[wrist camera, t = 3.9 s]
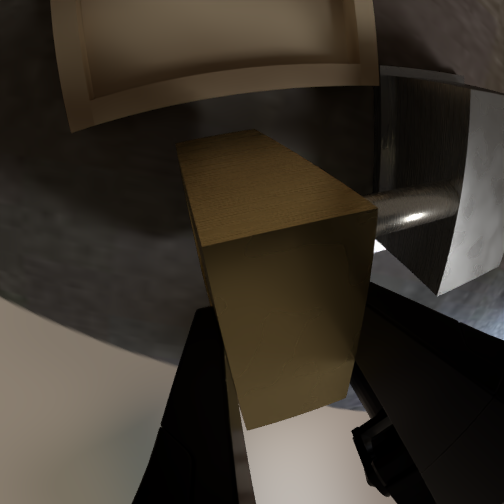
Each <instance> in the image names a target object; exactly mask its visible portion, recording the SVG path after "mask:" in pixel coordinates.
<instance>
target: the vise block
mask: <svg viewBox="0 0 504 504" xmlns="http://www.w3.org/2000/svg"><path fill="white" fill-rule="evenodd" d="M378 67H379V86H374V108H375V148H374V180H373V194H367V195H362V197H364V198H365V199H366V200H368V201H369V202H371V203H372V204H373V205H375V206H376V207H378V217H377V227H376V237H375V245H374V253H375V252H379V251H382V250H386V249H387V250H388V251H389V252H390V253H391V254H392V255H393V256H395V257H396V258H397V259H398V260H399V261H400V262H401V263H402V264H403V265H404V266H406V267H407V268H408V269H409V270H410V271H411V272H412V273H413V274H414V275H415V276H416V277H417V278H418V279H419V280H420V281H422V282H423V283H424V284H425V285H426V286H427V287H428V288H429V289H430V290H431V291H432V292H433V293H434V294H435V295H436V296H439V295H441V294H443V293H446V292H448V291H450V290H452V289H454V288H456V287H458V286H460V285H462V284H464V283H466V282H469V281H471V280H473V279H475V278H477V277H479V276H480V275H482V274H484V273H486V272H488V271H490V270H492V269H494V268H496V267H498V266H499V265H500V262H501V259H502V256H503V253H504V93H500V92H496V91H493V90H489V89H485V88H480V87H476V86H472V85H467V84H464V76H461V75H455V74H450V73H444V72H437V71H430V70H423V69H414V68H405V67H395V66H382V65H378Z"/></svg>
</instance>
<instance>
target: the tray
mask: <svg viewBox="0 0 504 504" xmlns="http://www.w3.org/2000/svg"><path fill="white" fill-rule="evenodd" d="M50 3H51V16H52V27H53V36H54V44H55V52H56V59H57V65H58V72H59V78H60V83H61V89H62V94H63V99H64V104H65V109H66V113H67V118H68V122H69V127H70V131H71V133H73V132H76V131H79V130H82V129H86V128H89V127H92V126H95V125H98V124H102V123H105V122H108V121H112V120H115V119H119V118H123V117H126V116H130V115H134V114H138V113H142V112H146V111H150V110H154V109H158V108H163V107H167V106H172V105H177V104H182V103H187V102H192V101H197V100H203V99H209V98H215V97H221V96H228V95H234V94H242V93H250V92H258V91H267V90H277V89H289V88H303V87H321V86H379V67H378V51H377V38H376V27H375V18H374V9H373V1H372V0H50Z"/></svg>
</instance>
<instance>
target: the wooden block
mask: <svg viewBox="0 0 504 504" xmlns="http://www.w3.org/2000/svg"><path fill="white" fill-rule="evenodd" d="M175 144H176V150H177V155H178V161H179V166H180V171H181V177H182V182H183V187H184V192H185V197H186V202H187V207H188V212H189V216H190V221H191V226H192V231H193V235H194V240H195V244H196V249H197V253H198V258H199V262H200V267H201V271H202V275H203V279H204V283H205V287H206V291H207V295H208V299H209V302H210V306H213V308H214V312H215V315H216V319H217V322H218V326H219V329H220V332H221V336H222V339H223V342H224V346H225V350H226V354H227V358H228V362H229V366H230V370H231V374H232V378H233V381H234V385H235V389H236V393H237V398H238V403H239V407H240V410H241V413H242V416H243V419H244V423H245V426H246V428H247V430H251V429H255V428H258V427H262V426H265V425H269V424H272V423H275V422H279V421H282V420H285V419H288V418H291V417H294V416H297V415H300V414H303V413H306V412H309V411H312V410H315V409H318V408H320V407H323V406H326V405H328V404H331V403H334V402H336V401H339V400H341V399H344V398H346V395H347V391H348V387H349V383H350V379H351V375H352V371H353V366H354V362H355V356H356V352H357V347H358V342H359V337H360V332H361V327H362V322H363V316H364V311H365V306H366V301H367V295H368V288H369V282H370V275H371V268H372V261H373V253H374V245H375V237H376V227H377V217H378V207H376V206H375V205H373V204H372V203H371V202H369V201H368V200H366V199H365V198H364V197H362V196H361V195H359V194H358V193H356V192H355V191H353V190H352V189H350V188H349V187H348V186H346V185H345V184H343V183H342V182H340V181H339V180H337V179H336V178H334V177H333V176H331V175H329V174H328V173H326V172H325V171H323V170H322V169H320V168H319V167H317V166H315V165H314V164H312V163H311V162H309V161H308V160H306V159H304V158H303V157H301V156H299V155H298V154H296V153H295V152H293V151H291V150H290V149H288V148H286V147H285V146H283V145H281V144H280V143H278V142H276V141H274V140H273V139H271V138H269V137H268V136H266V135H264V134H262V133H261V132H259V131H257V130H255V129H252V130H245V131H238V132H232V133H226V134H220V135H215V136H209V137H204V138H198V139H193V140H188V141H183V142H179V143H175Z"/></svg>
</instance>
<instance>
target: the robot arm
mask: <svg viewBox="0 0 504 504" xmlns="http://www.w3.org/2000/svg"><path fill="white" fill-rule="evenodd" d="M350 385H351V386H352V388H353V390H354V391H355V393H356V395H357V396H358V398H359V400H360V401H361V403H362V405H363V406H364V408H365V410H366V411H367V413H368V415H369V417H370V418H371V419H370V420H369V421H367V422H366V423H364V424H363V425H361V426H360V427H356V428H355V429H353V430H352V431H351V432H352V434H353V440H354V443H355V446H356V449H357V451H358V454H359V456H360V459H361V462H362V464H363V467H364V471H365V475H366V480H367V483H368V484H369V485H370V486H373V487H376V488H377V489H378V490H379V492H380V493H381V494H382V495H384V496H386V497H389V496H390V495H391V496H392V498H393V499H394V500H395V501H396V503H397V504H504V340H501V339H499V338H496V337H494V336H491V335H488V334H486V333H484V332H482V331H479V330H477V329H475V328H472V327H470V326H468V325H466V324H464V323H462V322H458V321H457V320H455V319H453V318H450V317H448V316H446V315H444V314H442V313H439V312H437V311H435V310H433V309H431V308H428V307H426V306H424V305H422V304H420V303H417V302H415V301H413V300H411V299H408V298H406V297H404V296H402V295H399V294H397V293H395V292H393V291H390V290H388V289H386V288H384V287H381V286H379V285H377V284H375V283H372V282H369V288H368V295H367V301H366V306H365V311H364V316H363V322H362V327H361V332H360V337H359V342H358V347H357V352H356V356H355V362H354V366H353V371H352V375H351V379H350ZM161 426H162V427H160V428H159V431H158V434H157V438H156V441H155V444H154V448H153V451H152V454H151V457H150V460H149V463H148V466H147V468H146V471H145V473H144V476H143V478H142V481H141V483H140V486H139V488H138V491H137V493H136V495H135V497H134V500H133V502H132V504H256V502H255V496H254V491H253V486H252V481H251V475H250V470H249V464H248V458H247V452H246V447H245V441H244V435H243V429H242V423H241V417H240V411H239V405H238V398H237V393H236V389H235V385H234V381H233V378H232V374H231V370H230V366H229V362H228V358H227V354H226V350H225V346H224V342H223V339H222V336H221V332H220V329H219V326H218V322H217V319H216V315H215V312H214V308H213V306H208V307H204V308H200V309H197V310H196V312H195V315H194V318H193V321H192V325H191V328H190V331H189V334H188V337H187V340H186V343H185V346H184V349H183V353H182V356H181V359H180V362H179V365H178V368H177V372H176V375H175V378H174V381H173V385H172V388H171V392H170V394H169V398H168V401H167V404H166V408H165V411H164V415H163V418H162V421H161Z"/></svg>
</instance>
